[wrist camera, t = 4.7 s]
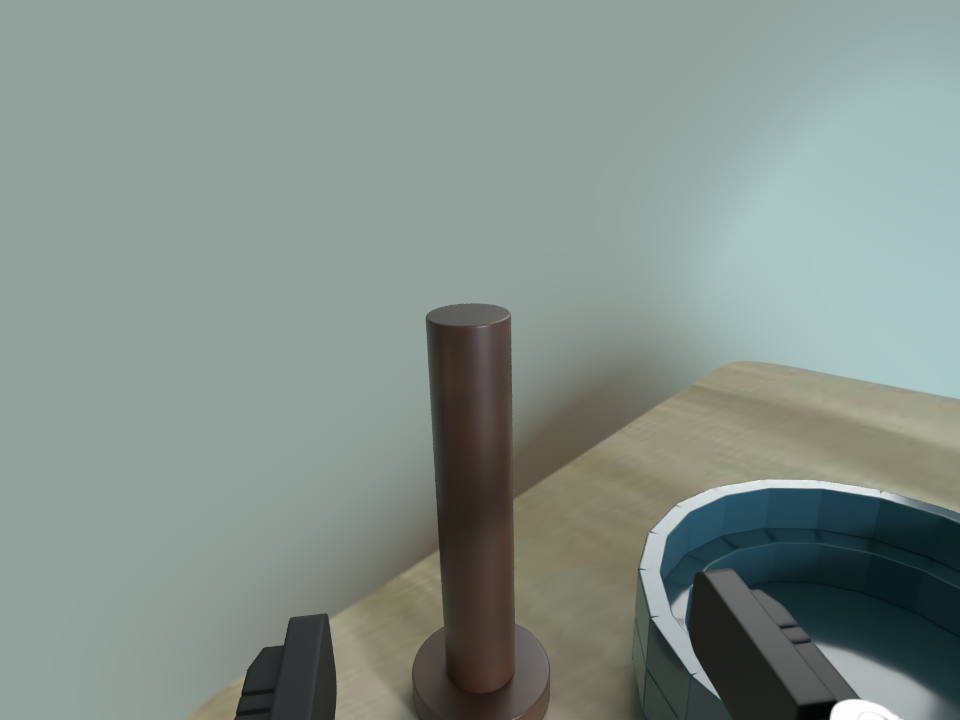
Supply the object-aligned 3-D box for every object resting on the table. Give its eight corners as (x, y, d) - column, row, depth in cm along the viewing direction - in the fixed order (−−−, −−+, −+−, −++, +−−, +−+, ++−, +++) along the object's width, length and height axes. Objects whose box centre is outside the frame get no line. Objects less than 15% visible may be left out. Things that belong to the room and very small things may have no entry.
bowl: (593, 837, 19) (599, 713, 18) (660, 542, 33) (667, 456, 31) (1318, 1115, 13) (1432, 970, 12) (1037, 618, 27) (1070, 518, 25)
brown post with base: (388, 723, 23) (348, 330, 18) (448, 626, 28) (429, 289, 23) (524, 773, 21) (521, 347, 16) (565, 659, 26) (572, 299, 21)
